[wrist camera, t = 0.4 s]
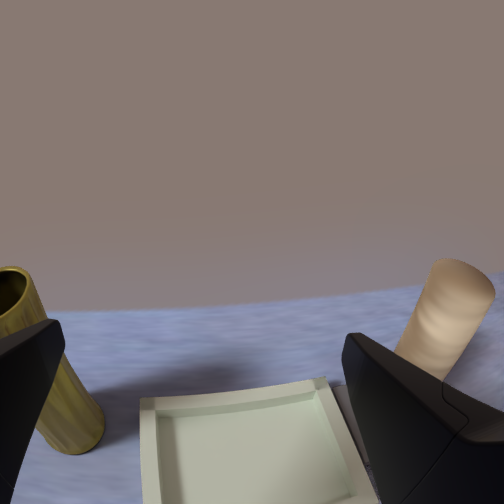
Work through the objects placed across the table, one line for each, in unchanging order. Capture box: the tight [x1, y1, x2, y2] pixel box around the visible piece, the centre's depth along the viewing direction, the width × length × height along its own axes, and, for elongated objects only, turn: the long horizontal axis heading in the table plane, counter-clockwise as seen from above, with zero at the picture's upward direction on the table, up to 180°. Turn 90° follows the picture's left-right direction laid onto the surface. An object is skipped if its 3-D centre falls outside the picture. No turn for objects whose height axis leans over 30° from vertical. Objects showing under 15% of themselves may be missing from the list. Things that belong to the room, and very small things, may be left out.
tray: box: [140, 376, 379, 504], centre depth 19 cm, size 12×15×2 cm
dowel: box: [394, 259, 495, 381], centre depth 19 cm, size 4×4×15 cm
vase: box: [0, 266, 105, 455], centre depth 17 cm, size 6×6×14 cm
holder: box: [331, 385, 370, 467], centre depth 23 cm, size 8×8×1 cm
